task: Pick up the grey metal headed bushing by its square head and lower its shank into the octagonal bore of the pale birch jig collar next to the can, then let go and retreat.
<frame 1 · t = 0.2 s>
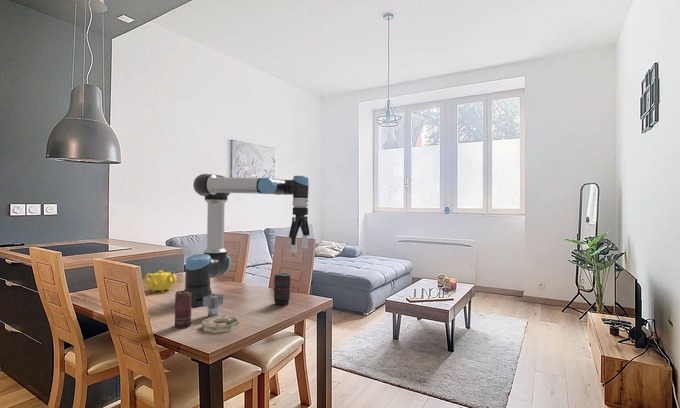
hand: (299, 249, 178), 28 cm above the table, fingers open, 13 cm apart
teapot: (160, 291, 201), on the table
jig: (220, 326, 147), on the table
bushing: (212, 316, 160), on the table
can: (182, 326, 147), on the table
camera lens: (281, 304, 181), on the table
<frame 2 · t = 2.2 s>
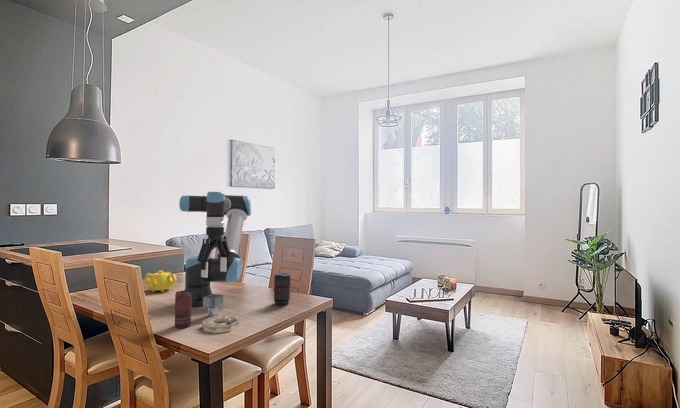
hand: (214, 274, 160), 19 cm above the table, fingers open, 13 cm apart
nothing on the table moved.
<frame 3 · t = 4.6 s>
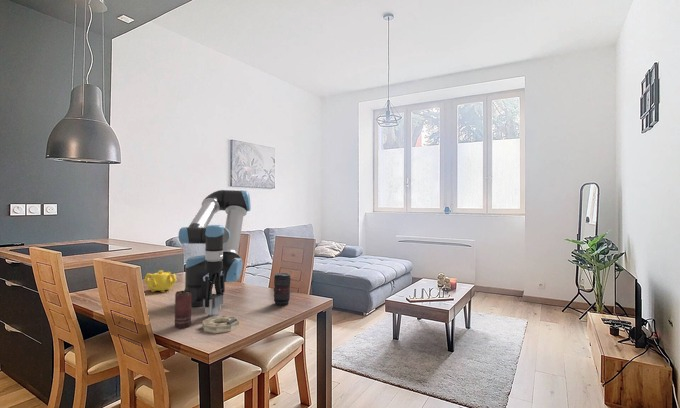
hand: (213, 311, 160), 2 cm above the table, fingers closed on bushing, 6 cm apart
bushing: (212, 316, 160), on the table, touching gripper
everything else where it was.
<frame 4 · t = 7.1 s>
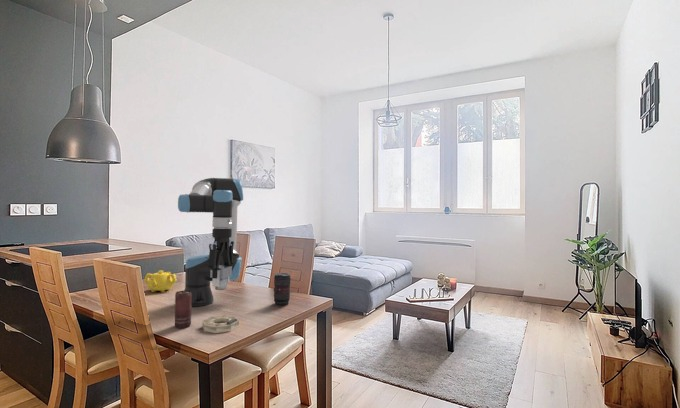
hand: (221, 284, 147), 17 cm above the table, fingers closed on bushing, 6 cm apart
bushing: (220, 288, 147), point 15 cm above the table, touching gripper
everything else where it was.
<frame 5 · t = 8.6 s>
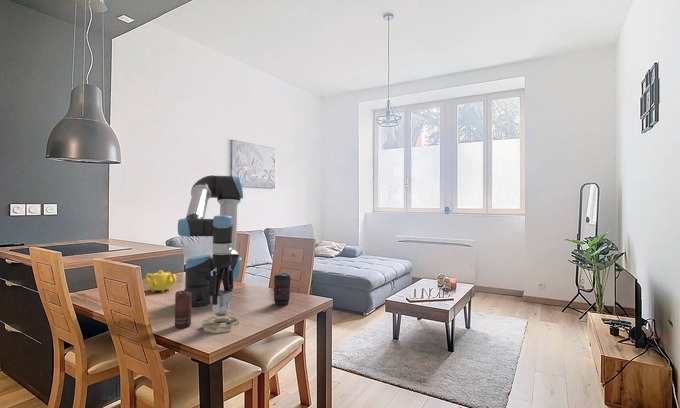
hand: (221, 309, 147), 7 cm above the table, fingers closed on bushing, 6 cm apart
bushing: (220, 314, 147), point 5 cm above the table, touching gripper
everything else where it was.
when the fingers open (3 cm above the table, at t = 9.6 s): bushing drops 1 cm, resting on jig.
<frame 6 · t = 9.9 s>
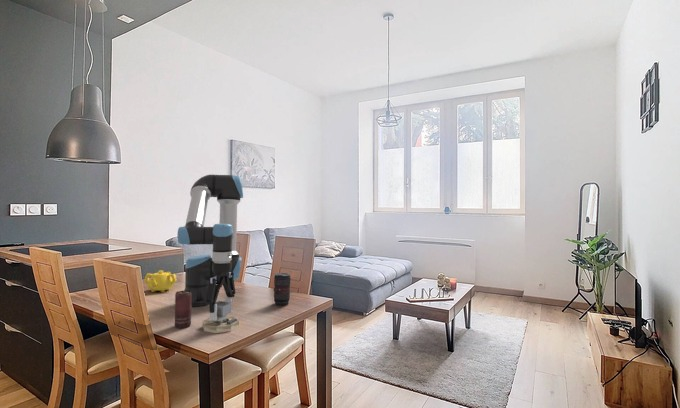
hand: (220, 316, 147), 4 cm above the table, fingers open, 9 cm apart
bushing: (220, 325, 147), resting on jig
everything else where it was.
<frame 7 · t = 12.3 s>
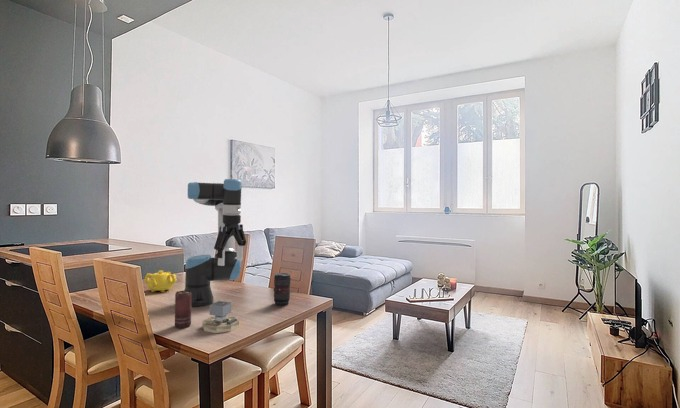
hand: (230, 262, 159), 24 cm above the table, fingers open, 13 cm apart
nothing on the table moved.
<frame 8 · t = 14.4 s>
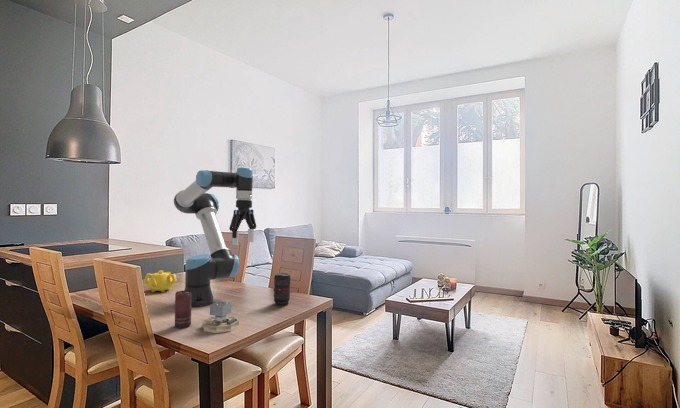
hand: (243, 243, 175), 31 cm above the table, fingers open, 13 cm apart
nothing on the table moved.
at the end: bushing 0.2 cm from the jig (horizontally); bushing resting on jig; bushing tilted 0° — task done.
